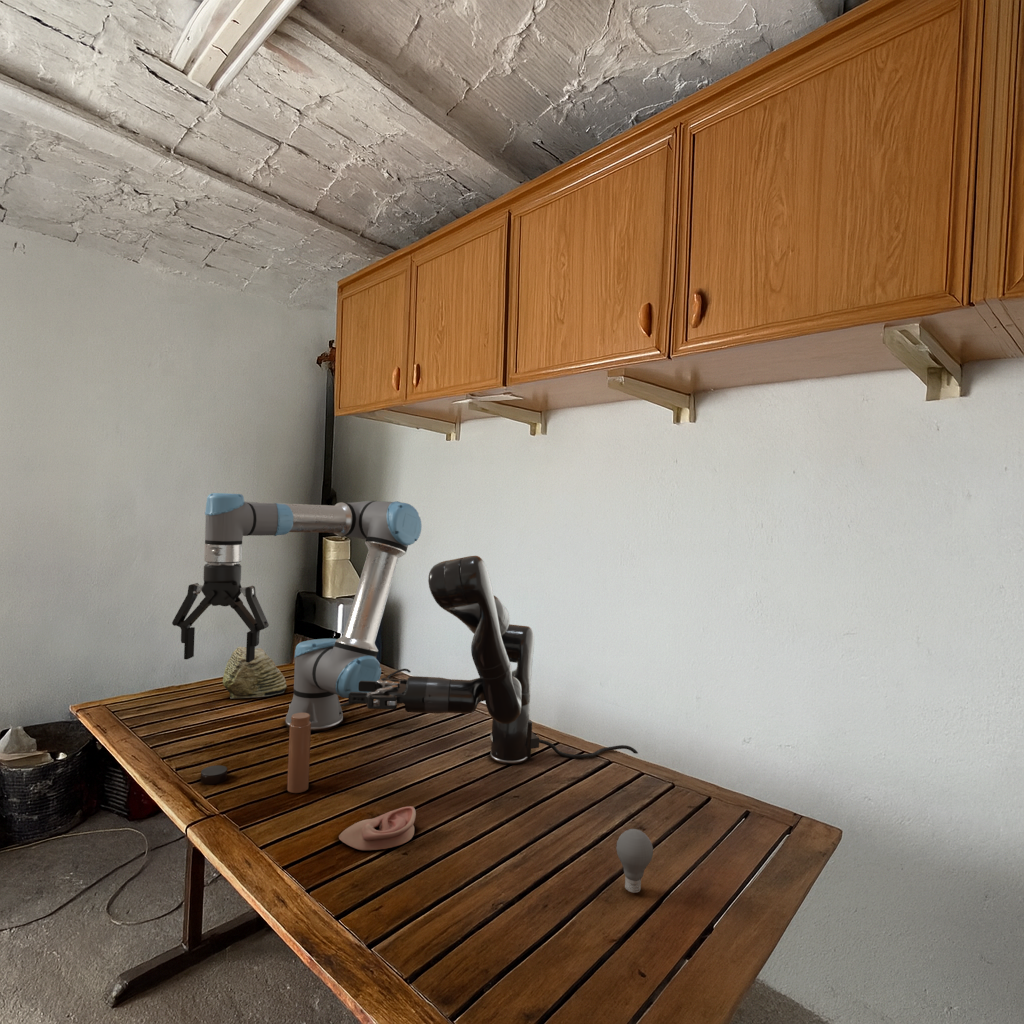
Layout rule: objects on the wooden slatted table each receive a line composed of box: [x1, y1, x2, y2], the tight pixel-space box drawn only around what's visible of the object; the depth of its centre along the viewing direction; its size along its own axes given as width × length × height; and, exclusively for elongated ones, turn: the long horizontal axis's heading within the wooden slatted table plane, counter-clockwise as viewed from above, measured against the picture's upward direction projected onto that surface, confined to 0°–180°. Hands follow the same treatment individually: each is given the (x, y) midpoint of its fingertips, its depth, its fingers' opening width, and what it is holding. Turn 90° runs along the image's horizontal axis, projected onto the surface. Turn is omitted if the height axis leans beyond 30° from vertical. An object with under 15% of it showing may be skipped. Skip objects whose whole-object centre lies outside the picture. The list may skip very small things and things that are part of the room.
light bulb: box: [615, 828, 654, 894], centre depth 106 cm, size 6×6×10 cm
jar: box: [286, 713, 312, 794], centre depth 137 cm, size 4×4×16 cm
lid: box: [200, 764, 228, 785], centre depth 140 cm, size 5×5×2 cm
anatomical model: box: [338, 805, 417, 851], centre depth 119 cm, size 13×4×12 cm
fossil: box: [222, 646, 288, 699], centre depth 198 cm, size 9×18×15 cm, turn 132°
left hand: (219, 659), depth 139 cm, fingers open, 13 cm apart
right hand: (354, 691), depth 137 cm, fingers open, 8 cm apart
